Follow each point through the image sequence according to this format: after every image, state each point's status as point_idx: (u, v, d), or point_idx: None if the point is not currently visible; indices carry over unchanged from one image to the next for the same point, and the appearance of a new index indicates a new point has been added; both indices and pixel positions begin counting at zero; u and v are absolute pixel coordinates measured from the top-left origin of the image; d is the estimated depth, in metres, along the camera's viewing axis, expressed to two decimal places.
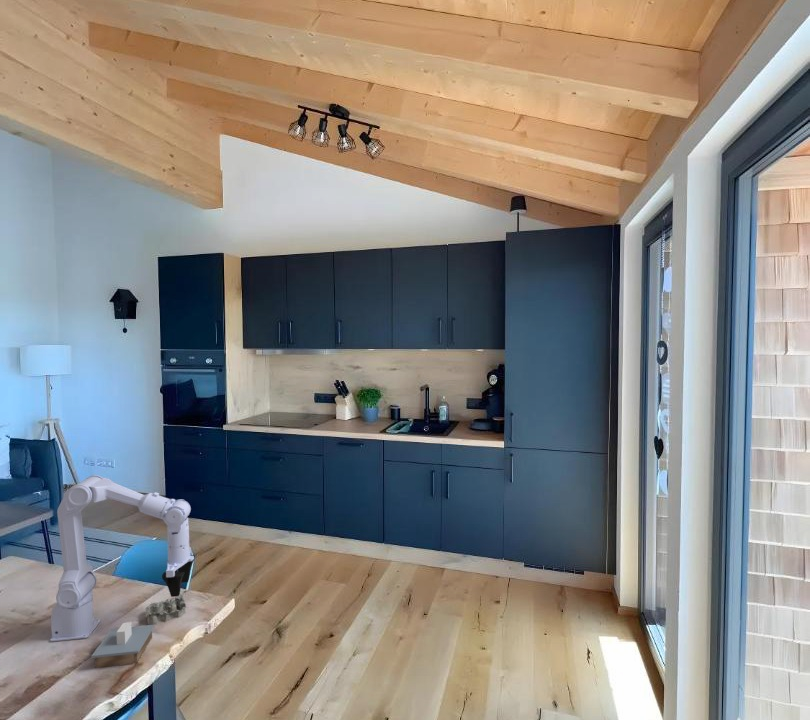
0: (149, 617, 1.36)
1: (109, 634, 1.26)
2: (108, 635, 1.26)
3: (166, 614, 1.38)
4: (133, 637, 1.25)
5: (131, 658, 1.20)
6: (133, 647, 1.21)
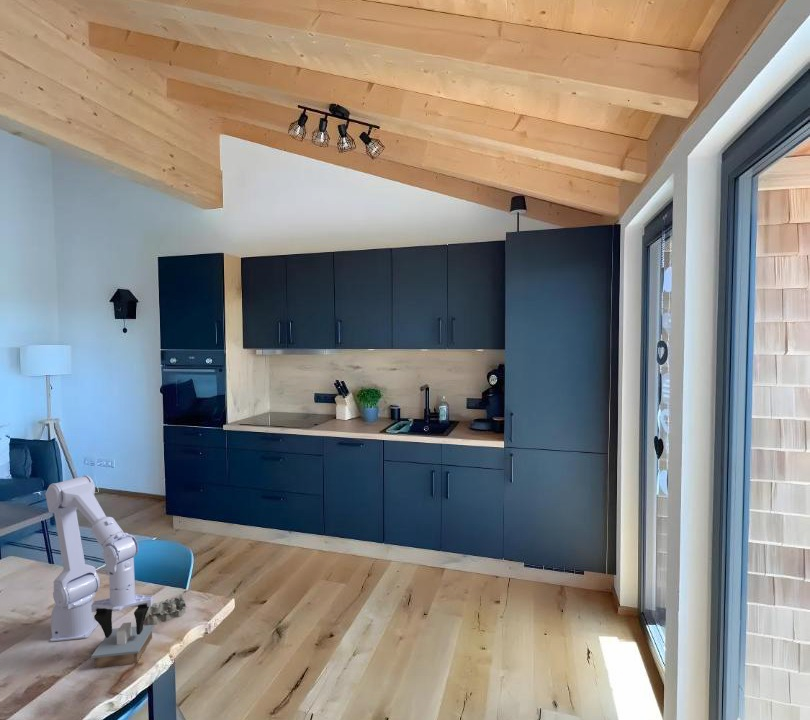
0: (149, 617, 1.36)
1: None
2: None
3: (166, 614, 1.38)
4: (133, 637, 1.25)
5: (131, 658, 1.20)
6: (133, 647, 1.21)
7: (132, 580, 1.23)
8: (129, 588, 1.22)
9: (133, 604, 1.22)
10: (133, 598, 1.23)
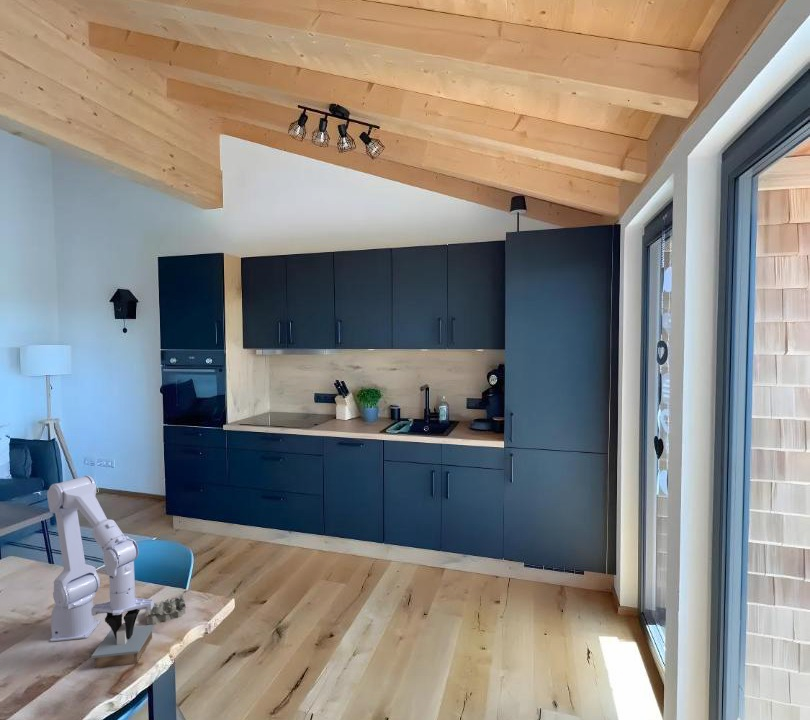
0: (149, 617, 1.36)
1: (109, 634, 1.26)
2: (108, 635, 1.26)
3: (166, 614, 1.37)
4: (133, 637, 1.25)
5: (131, 658, 1.20)
6: (133, 647, 1.21)
7: (132, 584, 1.23)
8: (129, 592, 1.22)
9: (133, 608, 1.22)
10: (133, 602, 1.23)
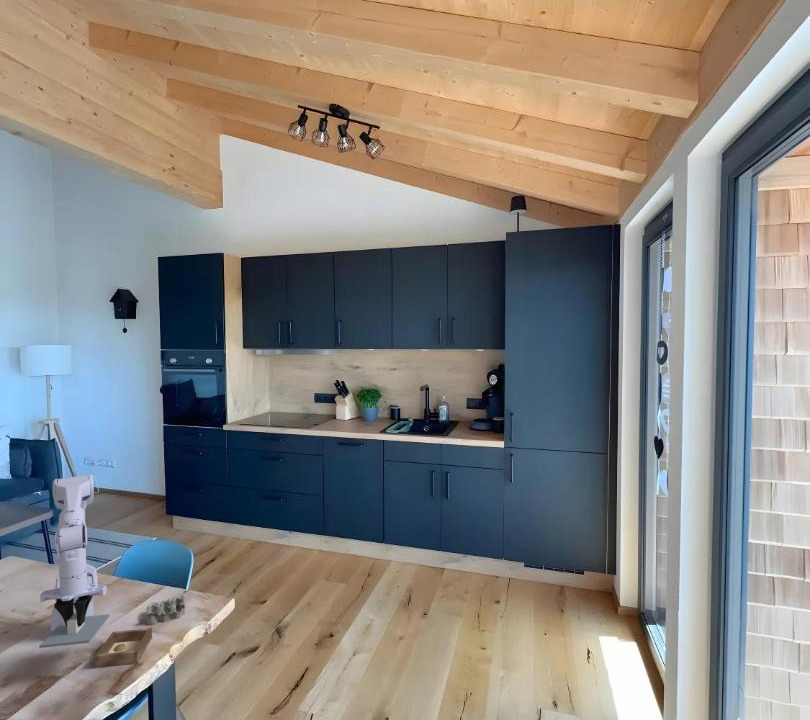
0: (147, 617, 1.36)
1: (61, 624, 1.22)
2: (59, 625, 1.21)
3: (164, 615, 1.37)
4: (85, 627, 1.20)
5: (131, 658, 1.20)
6: (84, 636, 1.17)
7: (78, 572, 1.17)
8: (80, 577, 1.18)
9: (84, 594, 1.18)
10: (85, 587, 1.19)
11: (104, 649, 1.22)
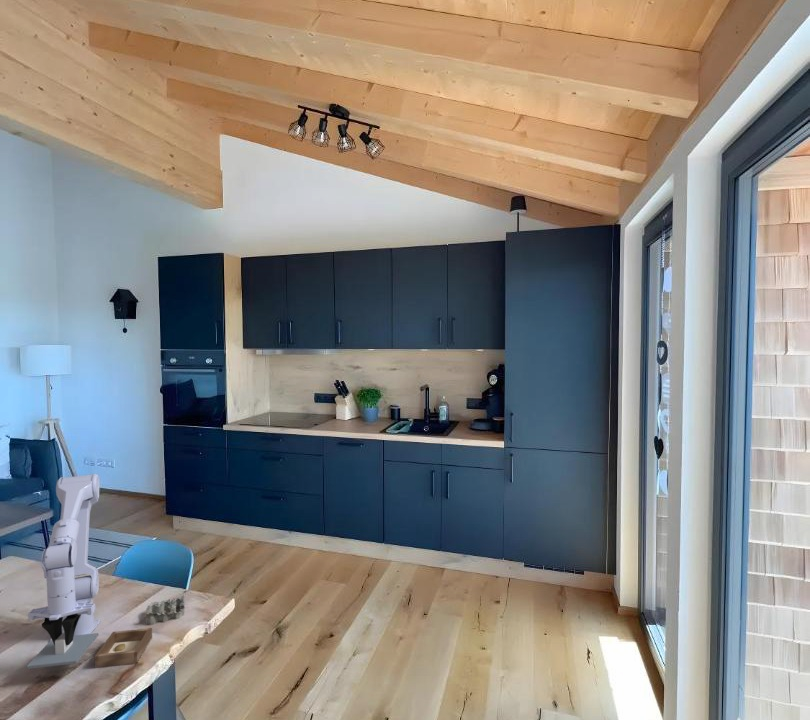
0: (147, 616, 1.36)
1: (49, 643, 1.21)
2: (48, 644, 1.21)
3: (164, 615, 1.37)
4: (74, 646, 1.20)
5: (131, 658, 1.20)
6: (71, 656, 1.16)
7: (63, 591, 1.16)
8: (68, 596, 1.17)
9: (72, 612, 1.17)
10: (73, 606, 1.18)
11: (104, 649, 1.22)
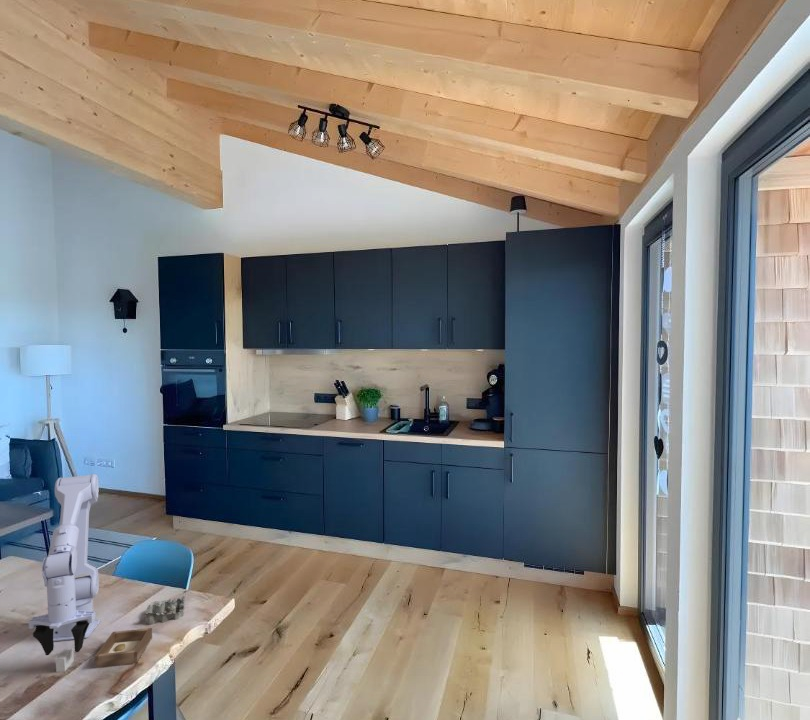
0: (146, 616, 1.36)
1: None
2: None
3: (163, 615, 1.37)
4: None
5: (131, 658, 1.20)
6: None
7: (64, 599, 1.16)
8: (68, 604, 1.17)
9: (72, 621, 1.17)
10: (73, 614, 1.18)
11: (104, 649, 1.22)
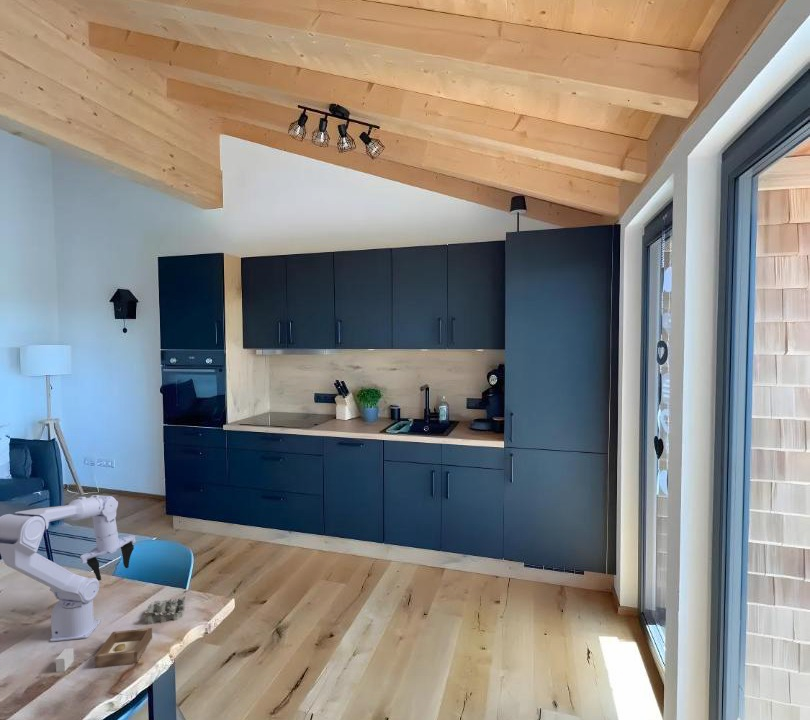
0: (146, 615, 1.37)
1: None
2: None
3: (161, 615, 1.37)
4: None
5: (131, 658, 1.20)
6: None
7: None
8: (117, 533, 1.43)
9: (123, 544, 1.45)
10: (118, 541, 1.45)
11: (104, 649, 1.22)
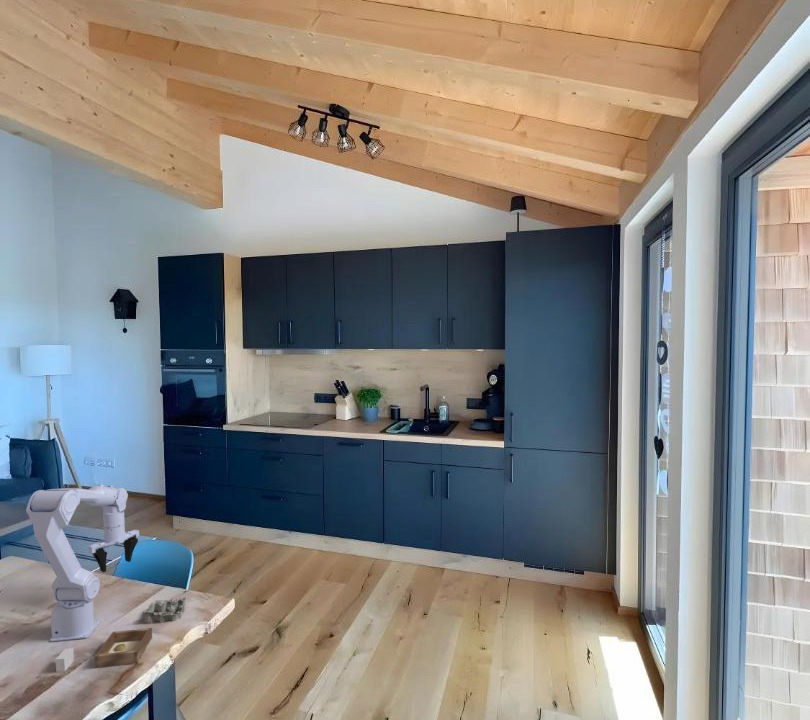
0: (145, 615, 1.37)
1: None
2: None
3: (160, 615, 1.37)
4: None
5: (131, 658, 1.20)
6: None
7: None
8: (124, 524, 1.50)
9: (129, 536, 1.51)
10: None
11: (104, 649, 1.22)
